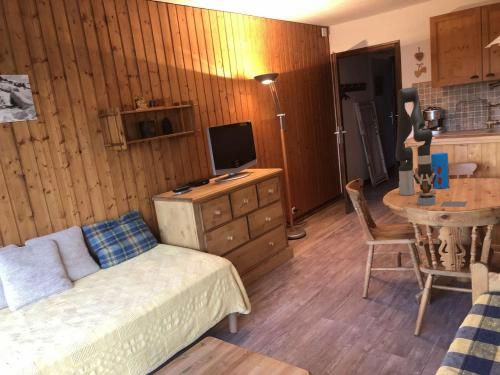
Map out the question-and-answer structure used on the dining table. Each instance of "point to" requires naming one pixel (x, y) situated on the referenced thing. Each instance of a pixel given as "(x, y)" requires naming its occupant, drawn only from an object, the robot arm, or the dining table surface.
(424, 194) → the lid
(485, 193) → the dining table surface
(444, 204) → the coaster
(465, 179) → the dining table surface
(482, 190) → the dining table surface
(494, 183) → the dining table surface
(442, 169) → the blue box
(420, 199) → the bowl
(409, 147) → the robot arm
